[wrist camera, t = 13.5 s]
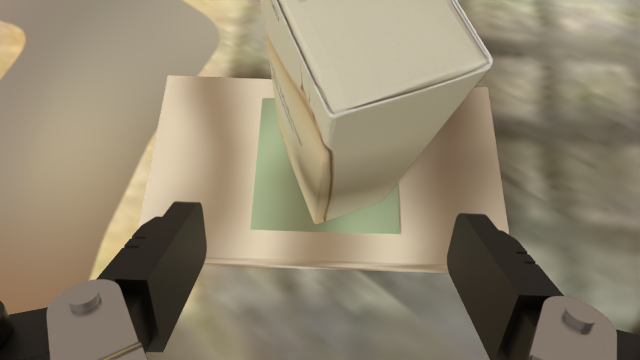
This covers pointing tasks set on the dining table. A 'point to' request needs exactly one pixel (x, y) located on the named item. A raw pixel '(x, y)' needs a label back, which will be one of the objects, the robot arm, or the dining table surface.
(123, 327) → the robot arm
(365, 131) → the skincare box
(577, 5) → the dining table surface
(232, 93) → the step block
